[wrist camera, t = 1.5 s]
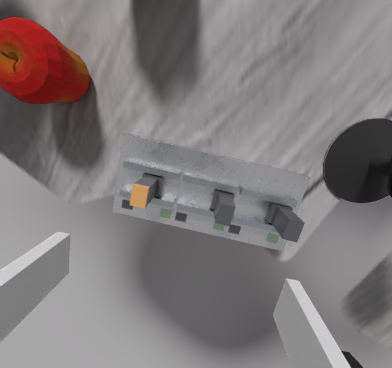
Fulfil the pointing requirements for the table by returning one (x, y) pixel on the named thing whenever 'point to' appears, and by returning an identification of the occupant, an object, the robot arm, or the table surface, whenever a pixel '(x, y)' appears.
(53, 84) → the apple
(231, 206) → the breaker mid
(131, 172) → the breaker panel
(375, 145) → the microphone
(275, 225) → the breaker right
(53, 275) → the robot arm
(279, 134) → the table surface
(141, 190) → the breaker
